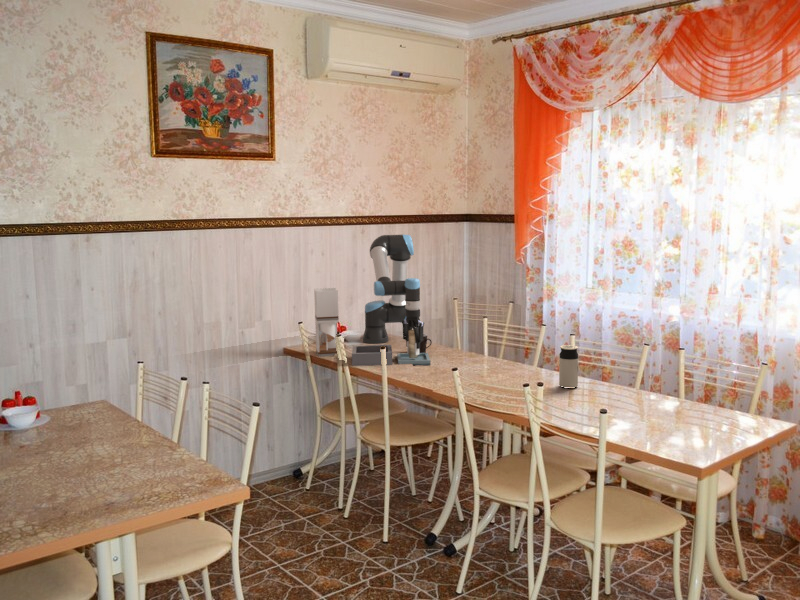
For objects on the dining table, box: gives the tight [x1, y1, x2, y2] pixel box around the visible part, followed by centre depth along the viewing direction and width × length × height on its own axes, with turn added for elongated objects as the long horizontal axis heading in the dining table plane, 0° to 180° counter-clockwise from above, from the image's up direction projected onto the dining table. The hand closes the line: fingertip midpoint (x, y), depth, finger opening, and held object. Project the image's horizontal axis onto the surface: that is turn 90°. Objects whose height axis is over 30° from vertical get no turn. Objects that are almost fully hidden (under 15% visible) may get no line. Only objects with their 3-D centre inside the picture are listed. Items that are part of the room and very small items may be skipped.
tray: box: [396, 352, 431, 367], centre depth 385 cm, size 18×16×2 cm
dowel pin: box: [409, 329, 418, 358], centre depth 384 cm, size 4×4×14 cm
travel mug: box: [558, 344, 579, 388], centre depth 330 cm, size 8×8×18 cm
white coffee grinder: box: [313, 287, 339, 357], centre depth 405 cm, size 11×11×35 cm
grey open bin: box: [351, 344, 393, 367], centre depth 384 cm, size 20×20×7 cm
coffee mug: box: [419, 333, 432, 353], centre depth 402 cm, size 12×9×10 cm
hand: (413, 354), depth 384 cm, fingers closed on dowel pin, 4 cm apart
